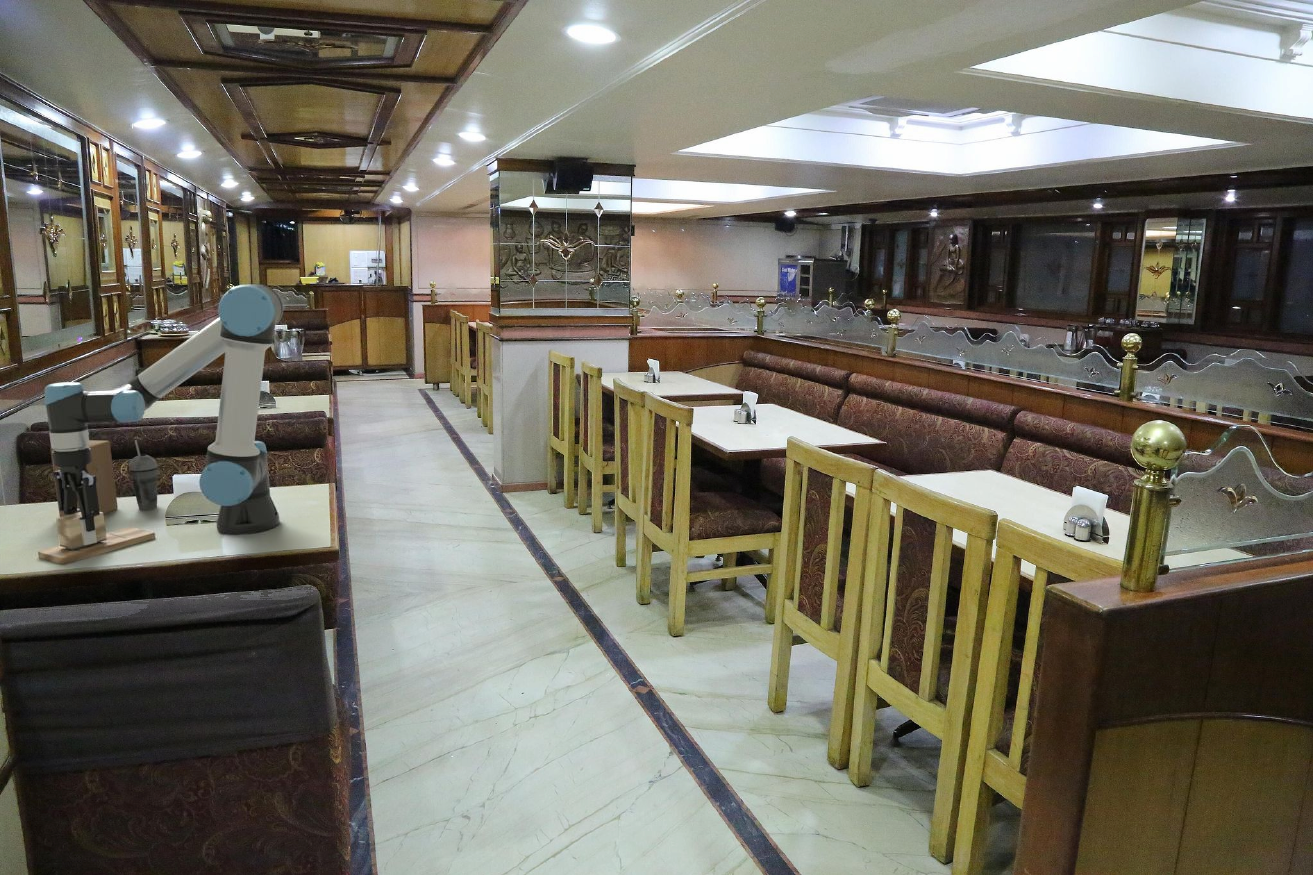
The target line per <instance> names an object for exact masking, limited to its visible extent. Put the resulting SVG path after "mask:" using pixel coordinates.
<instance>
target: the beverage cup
mask: <svg viewBox="0 0 1313 875" xmlns="http://www.w3.org/2000/svg"><path fill="white" fill-rule="evenodd" d="M134 443H135V448H136V451H137V456H135V457H133V458H132V459H131V460H130V463H129V466H128V472H129V476H130V478H131V480H132V486H133V489H134V490H133V491H134V494H135V498H136V504H137V507H138V510H140V511H151V510H154V509H157V508H158V473H159V472H158V470H159V466H158V463H157V461H156V460H155V459H154V457H152V456H150V455H148V454H141V452H140V448H139V445H138V440H134Z"/></svg>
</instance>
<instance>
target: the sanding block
mask: <svg viewBox="0 0 1313 875" xmlns="http://www.w3.org/2000/svg"><path fill="white" fill-rule="evenodd" d="M80 517H82V515H81V512H80V513H75V514H71V515H67V516H63V517H60V516H59V517H56V518H55V519H56V526H57V534H58V540H59V546H62V547H65V548H69V549H75V548H79V547H83V546H86V545H83V538H82V531H81V523H80V519H79V518H80ZM94 523H95V531H96V539H97V542H101V541H105V540H107V538H106V533H107V532H106V524H105V514H103V512H100V515H97V516H95V517H94ZM97 542H96V543H97ZM92 544H94V543H92ZM89 545H90V544H89Z"/></svg>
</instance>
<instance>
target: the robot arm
mask: <svg viewBox="0 0 1313 875" xmlns="http://www.w3.org/2000/svg"><path fill="white" fill-rule="evenodd" d="M217 311H218V318H216V319H215V320H213V321H212V322H211V323H209V324H208V325H206V326H204V327H203V328H202V329H200V331H198V332H196V333H195V334H194V335H192V336H191V337H190V338H188V339H187V340H185V341H184V342H183V343H181V344H180V345H178V346H177V347H175V348H174V349H173V350H171V351H170V352H169V353H167V354H166V355H165V356H163V357H161V358H160V359H159V360H157V361H156V362H155V363H153V364H152V365H150V366H149V367H147V368H146V369H145V370H144V371H142V372H140V373H139V374H138V375H136V376H135V377H133V378H132V379H130V380H129V381H127V382H126V383H124V384H123V385H121V386H119V387H116V388H113V389H111V390H98V391H97V390H95V391H94V390H93V391H91V390H85V389H84V386H83V384H82V383H81V382H78V381H77V382H76V381H75V382H73V381H70V382H69V381H68V382H67V381H64V382H55V383H50V384H48V385H46V386H45V388H44V398H45V399H44V400H45V401H44V402H45V403H44V405H45V409H46V415H47V422H48V427H49V428H48V431H49V440H50V448H53V449H55V450H53V452H52V455H53V462H54V465H55V466H57V467H61V468H60V470H59V471H54V472H52V473H53V477H55V479H54V481H55V480H56V486H55V489H56V488H57V493H56V497H57V496H58V501H57V505H58V504H59V508H58V511H59V510H60V511H64V514H65V515H66V516H67V515H71V514H75V512H80V511H81V515H82V517H80V518H79V519H80V523H81V531H82V538H83V545H89V544H92V543H96V542H97V539H96V531H95V523H94V517H95V516H97V515H100V511H99V504H98V496H97V489H96V480H97V478H96V476H90V475H89V474H88V470H87V467H86V465H87V464H89V463H90V462H91V461H92V457H91V449H90V448H89V447H87V446H88V445H89V444H90V443H89V440H90V436H89V435H90V432H89V426H88V424H94V423H95V424H96V423H98V424H99V423H100V424H101V423H122V424H125V423H131V422H133V423H134V422H139V421H141V420H142V419H143V418H144V415H145V411H147V410H148V409H150V408H151V407H152V406H153V404H155V403H156V402H157V401H159V400H160V399H161V398H163V397H164V396H165V395H167V394H169V393H170V392H171V391H173V390H174V389H176V388H177V387H178V386H179V385H181V384H182V383H184V382H185V381H186V380H188V379H190V378H191V377H192V376H194V375H195V374H196V373H198V372H199V371H200V370H203V368H205V367H207V365H209V364H211V363H213V361H215V360H216V359H218V358H219V357H220V356H221V355H223V354H224V362H223V373H222V381H221V390H220V398H219V407H218V416H217V424H216V425H217V426H216V432H215V433H216V434H215V441H214V442H213V443H211V444H209V445H208V447H207V449H206V450H207V451H206V460H205V467H204V468H203V470H202V472H201V473H200V476H199V481H198V482H199V487H200V491H201V493H202V494H203V496H204V497H206V499H207V500H208V501H210V502H211V503H213V504H216V505H218V506H219V510H218V517H217V519H216V530H217V532H219V533H222V534H227V535H246V534H255V533H259V532H265V531H267V530H270V529H273V528H275V527H277V526H278V525H279V524H280V522H281V521H280V514H279V512H278V509H277V507H276V505H275V503H274V501H273V498H272V497H271V491H270V489H271V488H270V479H269V478H270V477H269V476H270V475H269V466H268V463H269V462H268V451H267V447H266V446H267V445H266V444H265V442H263V441H260V440H256V438H255V437H256V432H257V424H258V415H259V408H260V406H259V405H260V398H261V388H262V382H263V381H262V380H263V374H264V365H265V356H266V350H267V349H269V348H270V347H272V346H273V345H274V338H275V330H276V325H277V324H279V323H280V321H281V319H282V317H283V315H284V304H283V300H282V298H281V297H280V295H279V294H278V293H277V291H275V289H272V288H271V287H270V286H268V285H265V284H260V283H252V284H246V283H244V284H240V285H236V286H233V287H231V288H230V289H229V290H227V291H226V292H225V293H224V294H223V295H222V297H221V298H220V301H219V303H218V310H217ZM81 486H82V487H81ZM77 500H78V504H79V507H80V509H78V508H77Z"/></svg>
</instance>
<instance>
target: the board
mask: <svg viewBox="0 0 1313 875" xmlns="http://www.w3.org/2000/svg"><path fill="white" fill-rule="evenodd" d="M106 538H107V540H105V541H101V542H97V543H94V544H90V545H86V546H83V547H79V548H75V549H69V548H65V547H62V546H60V545H58V546H55V547H50V548H46V549H41V550H39V551H37V556H38V558H39V559H41V560H47V561H48V562H49V561H50V562H53V563H57V564H60V565H66V564H70V563H73V562H77V561H81V560H84V559H87V558H91V557H94V556H97V555H101V554H104V553H108V552H112V551H115V550H118V549H122V548H126V547H129V546H132V545H136V544H140V543H143V542H147V541H149V540H153V539H156V532H154V531H150V530H146V529H140V528H136V527H132V526H129V527H125V528H122V529H117V530H114V531H110V532H106Z"/></svg>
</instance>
